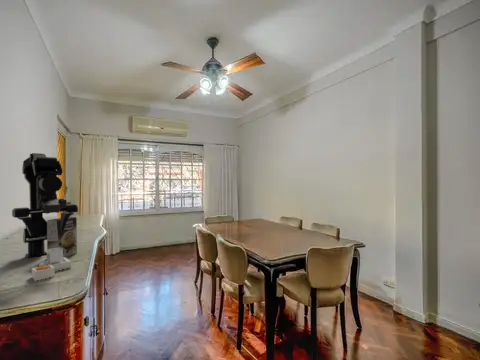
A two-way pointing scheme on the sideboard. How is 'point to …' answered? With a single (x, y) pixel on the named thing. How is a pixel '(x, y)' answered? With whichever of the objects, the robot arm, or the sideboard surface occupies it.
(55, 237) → the coffee box
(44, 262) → the white square tray
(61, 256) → the billet
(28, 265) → the sideboard surface
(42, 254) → the robot arm
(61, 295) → the sideboard surface
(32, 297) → the sideboard surface
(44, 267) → the button
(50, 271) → the button housing
